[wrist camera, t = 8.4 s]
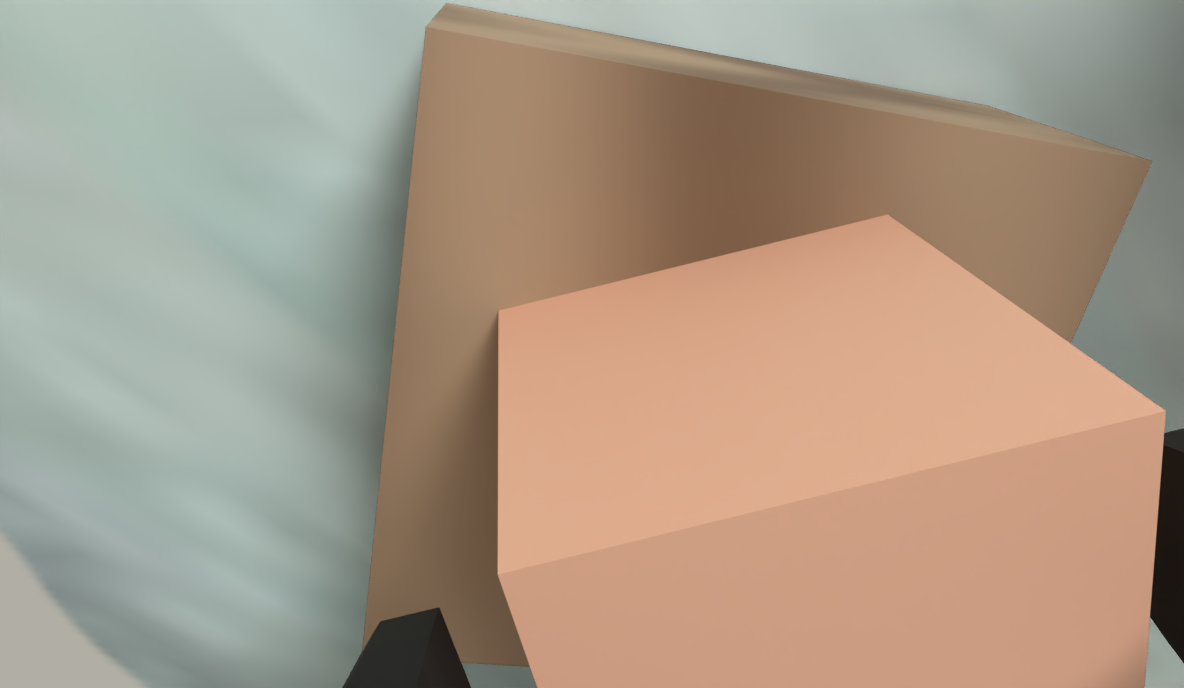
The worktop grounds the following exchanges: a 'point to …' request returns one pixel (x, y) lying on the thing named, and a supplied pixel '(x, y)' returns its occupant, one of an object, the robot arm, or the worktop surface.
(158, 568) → the worktop surface
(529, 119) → the walnut block
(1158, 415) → the terracotta cube
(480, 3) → the worktop surface
